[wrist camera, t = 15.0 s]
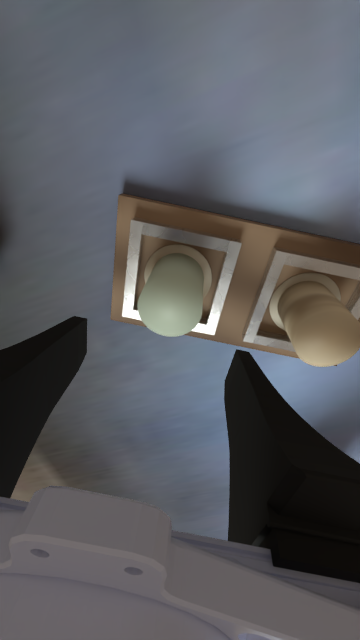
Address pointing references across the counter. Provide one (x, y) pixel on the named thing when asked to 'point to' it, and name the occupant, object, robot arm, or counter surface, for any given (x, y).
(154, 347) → the counter surface
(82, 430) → the counter surface
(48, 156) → the counter surface
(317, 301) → the ash peg
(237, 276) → the board
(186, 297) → the sage peg
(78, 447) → the counter surface
